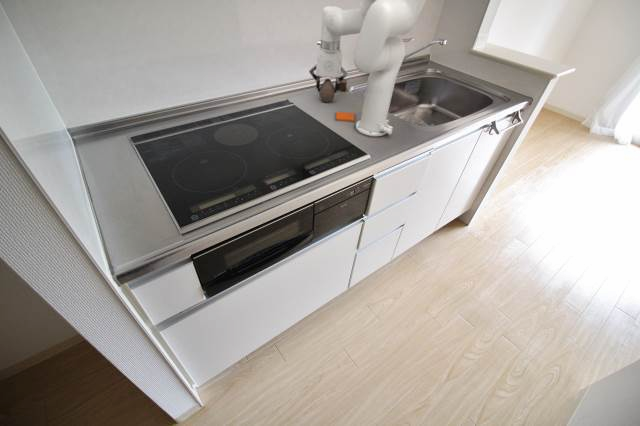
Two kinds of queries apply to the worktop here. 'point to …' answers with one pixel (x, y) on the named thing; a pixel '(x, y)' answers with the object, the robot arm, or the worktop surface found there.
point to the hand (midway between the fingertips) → (327, 90)
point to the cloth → (345, 116)
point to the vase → (327, 91)
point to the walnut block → (342, 85)
